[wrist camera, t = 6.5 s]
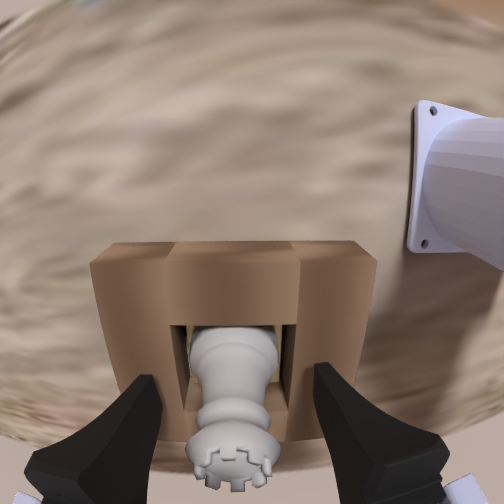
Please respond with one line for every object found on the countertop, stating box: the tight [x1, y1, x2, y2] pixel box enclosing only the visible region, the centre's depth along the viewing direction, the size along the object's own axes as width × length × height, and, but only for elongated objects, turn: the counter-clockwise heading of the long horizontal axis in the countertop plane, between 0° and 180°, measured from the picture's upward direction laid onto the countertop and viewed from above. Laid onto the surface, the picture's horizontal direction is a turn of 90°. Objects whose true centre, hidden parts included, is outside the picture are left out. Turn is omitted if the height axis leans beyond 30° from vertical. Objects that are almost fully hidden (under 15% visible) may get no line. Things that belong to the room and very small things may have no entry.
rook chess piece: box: [185, 325, 281, 492], centre depth 12 cm, size 4×4×8 cm
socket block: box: [89, 241, 377, 442], centre depth 15 cm, size 12×11×3 cm
